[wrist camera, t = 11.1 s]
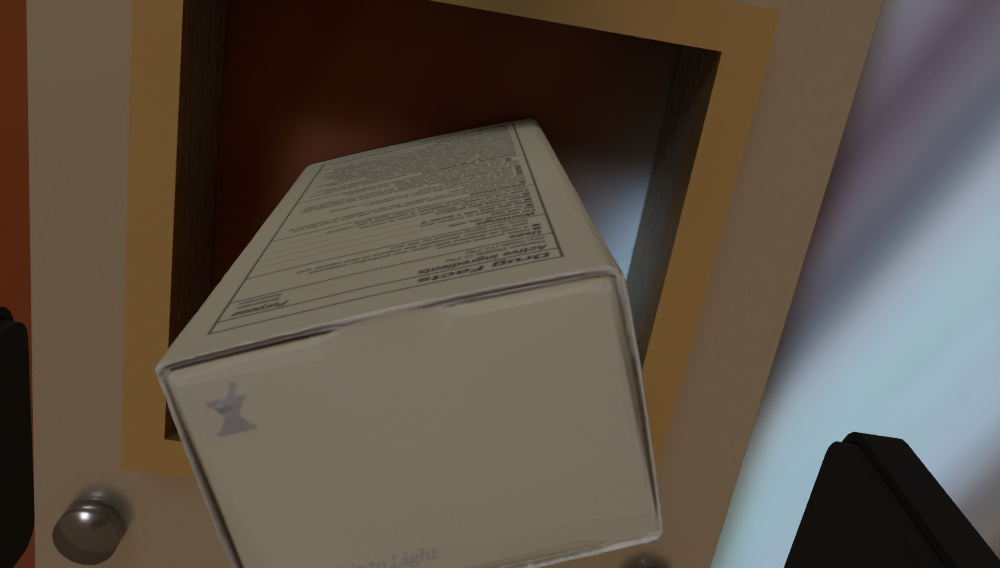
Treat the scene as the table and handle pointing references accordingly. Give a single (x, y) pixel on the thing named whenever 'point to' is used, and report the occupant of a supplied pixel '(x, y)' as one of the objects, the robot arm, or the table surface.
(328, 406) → the skincare box
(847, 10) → the picture frame
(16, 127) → the table surface
